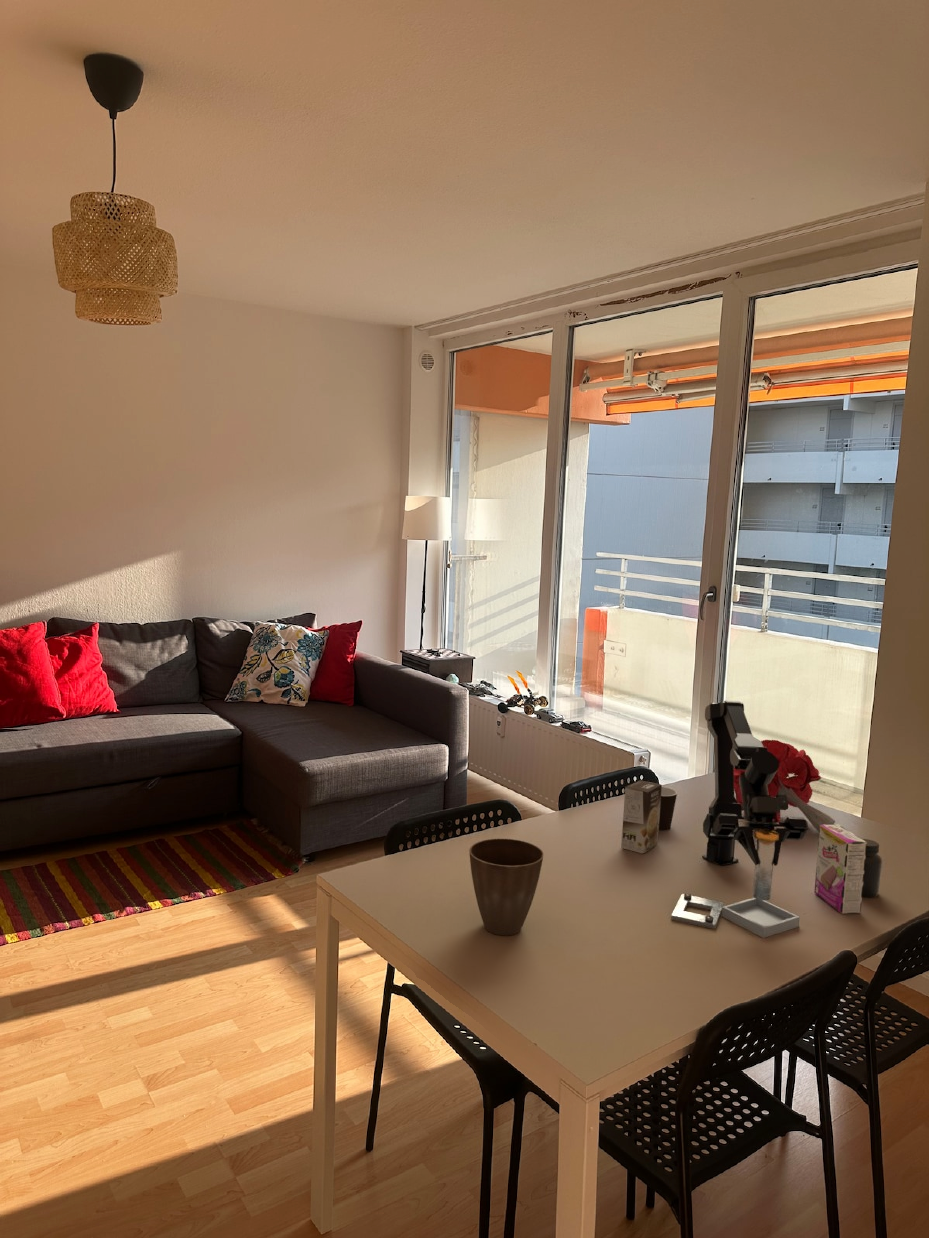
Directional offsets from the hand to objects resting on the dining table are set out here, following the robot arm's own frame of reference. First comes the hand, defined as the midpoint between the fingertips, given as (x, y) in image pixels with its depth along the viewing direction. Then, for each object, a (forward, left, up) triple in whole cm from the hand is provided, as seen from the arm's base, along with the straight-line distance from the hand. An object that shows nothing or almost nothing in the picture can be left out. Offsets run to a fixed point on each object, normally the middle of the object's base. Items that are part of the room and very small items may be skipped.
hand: (766, 864), depth 185 cm
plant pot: (+49, -24, -13) cm, 56 cm away
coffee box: (-8, -45, -13) cm, 48 cm away
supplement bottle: (-35, 0, -13) cm, 37 cm away
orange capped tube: (-1, -1, -8) cm, 8 cm away
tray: (-1, -1, -13) cm, 13 cm away
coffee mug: (-24, -55, -13) cm, 61 cm away
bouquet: (-56, -41, -13) cm, 70 cm away
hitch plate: (+8, -10, -13) cm, 18 cm away
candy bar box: (-24, +1, -13) cm, 27 cm away
